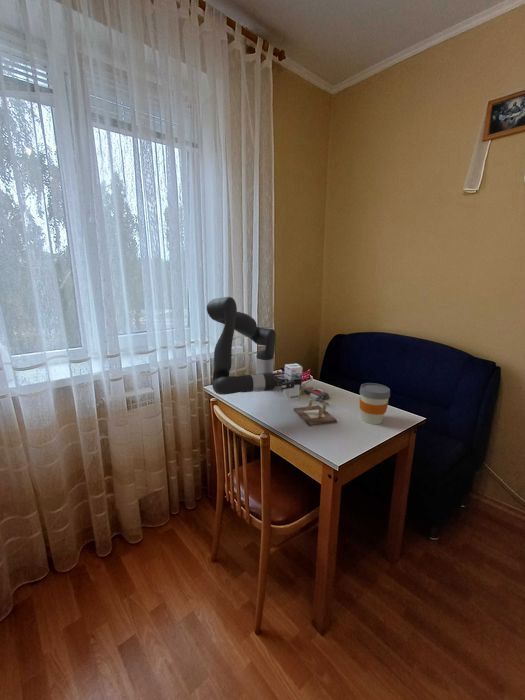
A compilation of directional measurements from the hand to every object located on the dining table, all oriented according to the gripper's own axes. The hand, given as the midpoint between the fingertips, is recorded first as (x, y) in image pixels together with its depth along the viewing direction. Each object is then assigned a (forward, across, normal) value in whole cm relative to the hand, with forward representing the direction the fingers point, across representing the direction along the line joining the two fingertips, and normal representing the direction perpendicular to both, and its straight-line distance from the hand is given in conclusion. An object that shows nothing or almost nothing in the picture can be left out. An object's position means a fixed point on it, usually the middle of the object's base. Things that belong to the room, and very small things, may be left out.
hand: (298, 379), depth 137 cm
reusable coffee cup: (+31, -12, +18) cm, 38 cm away
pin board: (+8, -2, +18) cm, 20 cm away
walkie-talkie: (+21, +16, +18) cm, 32 cm away
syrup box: (-2, 0, +8) cm, 9 cm away
